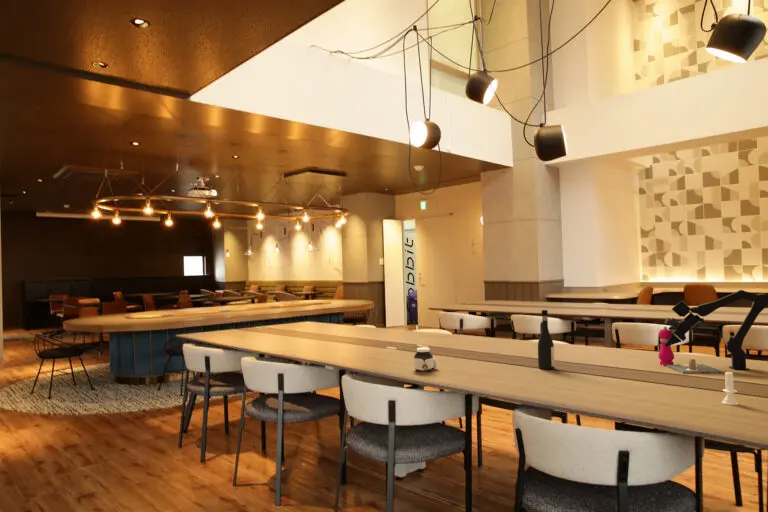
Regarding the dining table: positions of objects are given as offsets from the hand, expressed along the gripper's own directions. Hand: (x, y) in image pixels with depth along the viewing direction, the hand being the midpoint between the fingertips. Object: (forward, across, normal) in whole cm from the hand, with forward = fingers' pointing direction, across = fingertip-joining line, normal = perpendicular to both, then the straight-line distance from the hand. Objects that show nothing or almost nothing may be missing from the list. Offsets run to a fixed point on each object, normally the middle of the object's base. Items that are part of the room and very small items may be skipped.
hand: (664, 344), depth 275 cm
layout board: (0, +11, +15) cm, 19 cm away
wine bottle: (+48, +22, -33) cm, 62 cm away
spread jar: (+91, +40, -74) cm, 124 cm away
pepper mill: (+7, 0, +8) cm, 11 cm away
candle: (-1, +76, +16) cm, 77 cm away
